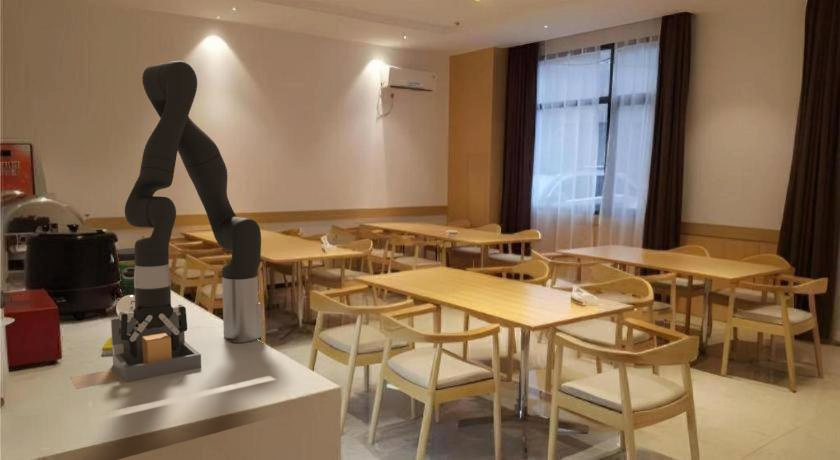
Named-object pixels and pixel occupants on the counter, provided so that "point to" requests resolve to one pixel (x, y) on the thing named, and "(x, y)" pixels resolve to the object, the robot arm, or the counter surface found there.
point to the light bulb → (126, 304)
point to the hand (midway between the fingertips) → (154, 353)
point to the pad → (94, 379)
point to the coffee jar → (127, 270)
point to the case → (134, 366)
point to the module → (156, 347)
